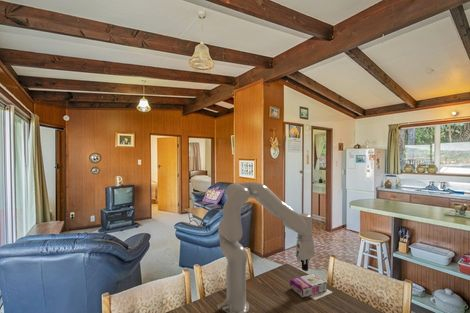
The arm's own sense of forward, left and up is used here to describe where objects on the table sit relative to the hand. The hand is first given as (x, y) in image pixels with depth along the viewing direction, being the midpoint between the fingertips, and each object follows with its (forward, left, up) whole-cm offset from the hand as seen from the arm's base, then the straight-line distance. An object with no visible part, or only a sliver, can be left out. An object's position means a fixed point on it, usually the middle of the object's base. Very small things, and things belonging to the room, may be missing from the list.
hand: (304, 270), depth 137 cm
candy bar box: (-7, 0, -8) cm, 11 cm away
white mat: (+4, 0, -11) cm, 12 cm away
